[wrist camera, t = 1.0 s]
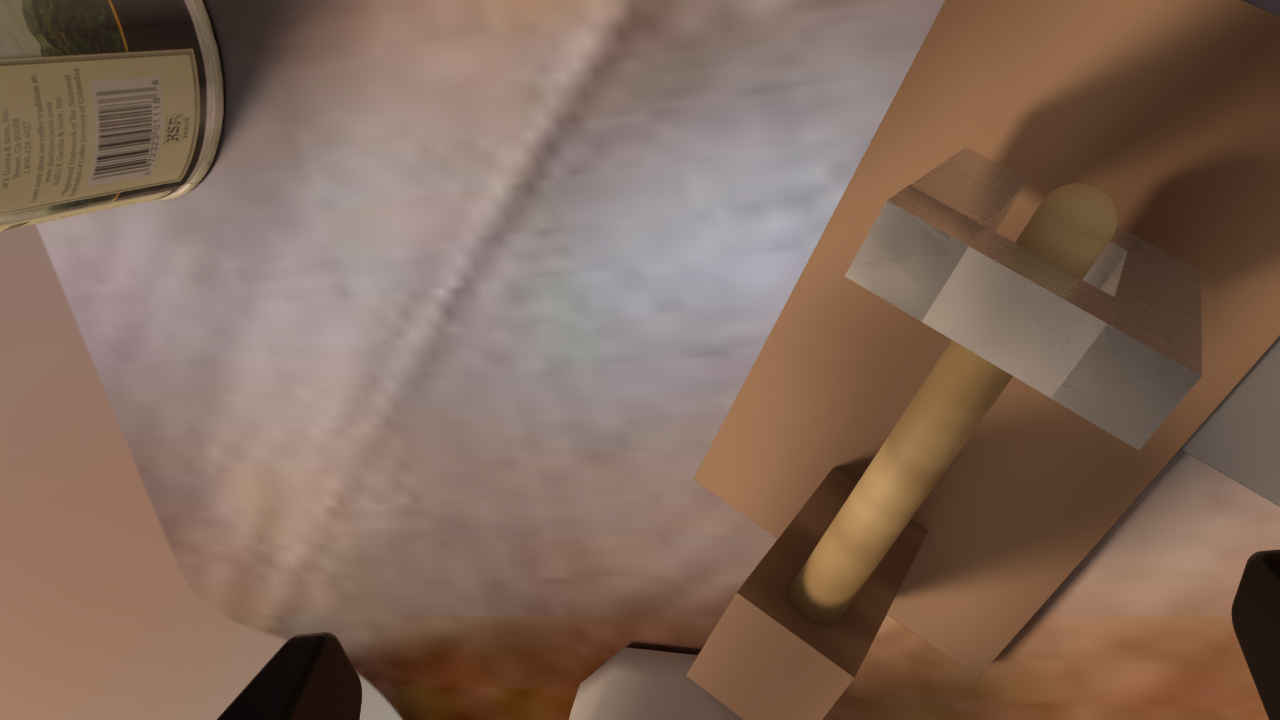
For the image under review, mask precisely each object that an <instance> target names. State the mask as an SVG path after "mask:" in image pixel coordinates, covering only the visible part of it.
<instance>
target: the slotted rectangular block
mask: <svg viewBox="0 0 1280 720" xmlns="http://www.w3.org/2000/svg"><path fill="white" fill-rule="evenodd" d="M1027 182H1028V179H1026V178H1024V177H1022V176H1021V175H1019V174H1017V173H1015V172H1013V171H1011V170H1009V169H1007V168H1005V167H1003V166H1002V165H1000V164H998V163H996V162H994V161H992V160H990V159H988V158H986V157H985V156H983V155H981V154H979V153H977V152H975V151H973V150H971V149H969V148H967V147H965V148H964V149H962V150H961V151H959V152H958V153H956V154H955V155H953V156H952V157H950V158H949V159H947V160H946V161H945V162H943V163H942V164H940V165H939V166H937V167H936V168H934V169H933V170H931V171H930V172H928V173H927V174H925V175H924V176H922V177H921V178H919V179H918V180H916V181H915V182H913V183H912V184H910V185H909V186H907V187H906V188H904V189H903V190H901V191H900V192H898V193H897V194H895V195H894V196H892V197H891V198H890V199H888V200H887V201H886V203H885V204H884V206H883V208H882V210H881V212H880V213H879V215H878V217H877V219H876V221H875V222H874V224H873V226H872V228H871V230H870V231H869V233H868V235H867V237H866V239H865V240H864V242H863V244H862V246H861V248H860V249H859V251H858V253H857V255H856V257H855V258H854V260H853V262H852V264H851V266H850V267H849V269H848V271H847V273H846V275H845V277H847V278H848V279H850V280H852V281H853V282H855V283H857V284H859V285H860V286H862V287H864V288H865V289H867V290H869V291H870V292H872V293H874V294H875V295H877V296H879V297H881V298H882V299H884V300H886V301H887V302H889V303H891V304H892V305H894V306H896V307H897V308H899V309H901V310H902V311H904V312H906V313H908V314H909V315H911V316H913V317H914V318H916V319H918V320H919V321H921V322H923V323H924V324H926V325H928V326H929V327H931V328H933V329H935V330H936V331H938V332H940V333H941V334H943V335H945V336H946V337H948V338H950V339H951V340H953V341H955V342H957V343H958V344H960V345H962V346H963V347H965V348H967V349H968V350H970V351H972V352H973V353H975V354H977V355H978V356H980V357H982V358H984V359H985V360H987V361H989V362H990V363H992V364H994V365H995V366H997V367H999V368H1000V369H1002V370H1004V371H1006V372H1007V373H1009V374H1011V375H1012V376H1014V377H1016V378H1017V379H1019V380H1021V381H1022V382H1024V383H1026V384H1027V385H1029V386H1031V387H1033V388H1034V389H1036V390H1038V391H1039V392H1041V393H1043V394H1044V395H1046V396H1048V397H1049V398H1051V399H1053V400H1055V401H1056V402H1058V403H1060V404H1061V405H1063V406H1065V407H1066V408H1068V409H1070V410H1071V411H1073V412H1075V413H1076V414H1078V415H1080V416H1082V417H1083V418H1085V419H1087V420H1088V421H1090V422H1092V423H1093V424H1095V425H1097V426H1098V427H1100V428H1102V429H1103V430H1105V431H1107V432H1109V433H1110V434H1112V435H1114V436H1115V437H1117V438H1119V439H1120V440H1122V441H1124V442H1125V443H1127V444H1129V445H1131V446H1132V447H1134V448H1136V449H1137V450H1140V449H1141V447H1142V446H1143V445H1144V444H1145V443H1146V442H1147V440H1148V439H1149V438H1150V437H1151V436H1152V435H1153V433H1154V432H1155V431H1156V430H1157V429H1158V428H1159V426H1160V425H1161V424H1162V423H1163V422H1164V420H1165V419H1166V418H1167V417H1168V416H1169V415H1170V413H1171V412H1172V411H1173V410H1174V409H1175V408H1176V406H1177V405H1178V404H1179V403H1180V402H1181V400H1182V399H1183V398H1184V397H1185V396H1186V395H1187V393H1188V392H1189V391H1190V390H1191V389H1192V388H1193V386H1194V385H1195V384H1196V383H1197V382H1198V381H1199V379H1200V378H1201V377H1202V313H1201V270H1199V269H1197V268H1195V267H1193V266H1191V265H1189V264H1187V263H1185V262H1184V261H1182V260H1180V259H1178V258H1176V257H1174V256H1172V255H1170V254H1168V253H1167V252H1165V251H1163V250H1161V249H1159V248H1157V247H1155V246H1153V245H1151V244H1149V243H1148V242H1146V241H1144V240H1142V239H1140V238H1138V237H1136V236H1134V235H1132V234H1131V233H1129V232H1127V231H1125V230H1123V229H1121V228H1119V227H1117V228H1116V231H1115V234H1114V235H1113V237H1112V239H1111V240H1110V242H1109V243H1108V245H1107V246H1106V247H1105V249H1104V250H1103V252H1102V253H1101V254H1100V256H1099V257H1098V259H1097V260H1096V261H1095V263H1094V264H1093V266H1092V267H1091V268H1090V270H1089V271H1088V273H1087V274H1086V275H1085V277H1084V278H1083V280H1082V279H1080V278H1078V277H1077V276H1075V275H1073V274H1071V273H1069V272H1068V271H1066V270H1064V269H1062V268H1060V267H1058V266H1057V265H1055V264H1053V263H1051V262H1049V261H1048V260H1046V259H1044V258H1042V257H1040V256H1038V255H1037V254H1035V253H1033V252H1031V251H1029V250H1027V249H1026V248H1024V247H1022V246H1020V245H1018V244H1017V243H1015V242H1013V241H1011V240H1009V239H1007V238H1006V237H1004V236H1002V235H1000V234H998V233H997V232H996V230H997V229H998V227H999V226H1000V224H1001V222H1002V221H1003V219H1004V218H1005V216H1006V215H1007V213H1008V211H1009V210H1010V208H1011V207H1012V205H1013V204H1014V202H1015V200H1016V199H1017V197H1018V196H1019V194H1020V193H1021V191H1022V189H1023V188H1024V186H1025V185H1026V183H1027Z"/></svg>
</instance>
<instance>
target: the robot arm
mask: <svg viewBox="0 0 1280 720" xmlns="http://www.w3.org/2000/svg"><path fill="white" fill-rule="evenodd" d="M1232 622H1233V627H1234V630H1235V633H1236V636H1237V639H1238V641H1239V644H1240V646H1241V649H1242V652H1243V654H1244V657H1245V659H1246V662H1247V664H1248V667H1249V670H1250V672H1251V675H1252V677H1253V680H1254V682H1255V685H1256V688H1257V690H1258V693H1259V695H1260V698H1261V700H1262V703H1263V706H1264V708H1265V711H1266V713H1267V716H1268V718H1269V720H1280V550H1270V551H1260V552H1256V553H1254V554H1253V555H1252V556H1251V557H1250V558H1249V559H1248V561H1247V564H1246V567H1245V570H1244V573H1243V575H1242V578H1241V581H1240V584H1239V587H1238V590H1237V593H1236V596H1235V599H1234V602H1233V606H1232ZM361 703H362V687H361V682H360V679H359V676H358V674H357V672H356V670H355V669H354V667H353V665H352V663H351V661H350V660H349V658H348V656H347V654H346V652H345V651H344V649H343V647H342V645H341V644H340V642H339V640H338V639H337V637H336V636H335V635H333V634H331V633H330V632H321V633H309V634H300V635H296V636H294V637H292V638H291V639H289V640H288V641H287V642H286V643H285V644H284V645H283V646H282V647H281V648H280V650H279V651H278V652H277V653H276V654H275V655H274V656H273V657H272V658H271V660H270V661H269V662H268V663H267V664H266V665H265V666H264V667H263V668H262V670H261V671H260V672H259V673H258V674H257V675H256V676H255V677H254V678H253V680H252V681H251V682H250V683H249V684H248V685H247V686H246V687H245V688H244V690H243V691H242V692H241V693H240V694H239V695H238V696H237V697H236V699H235V700H234V701H233V702H232V703H231V704H230V705H229V706H228V707H227V709H226V710H225V711H224V712H223V713H222V714H221V715H220V716H219V717H218V719H217V720H359V719H360V711H361Z"/></svg>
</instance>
